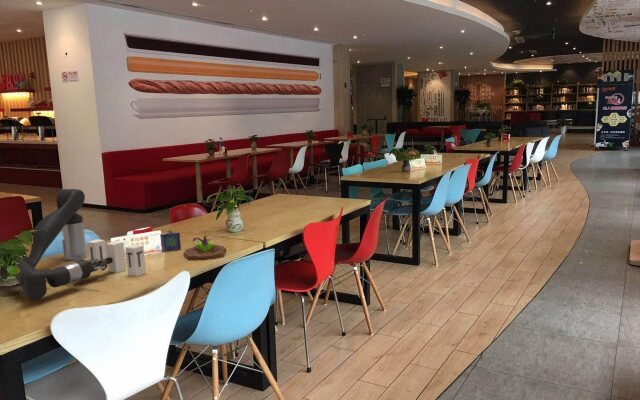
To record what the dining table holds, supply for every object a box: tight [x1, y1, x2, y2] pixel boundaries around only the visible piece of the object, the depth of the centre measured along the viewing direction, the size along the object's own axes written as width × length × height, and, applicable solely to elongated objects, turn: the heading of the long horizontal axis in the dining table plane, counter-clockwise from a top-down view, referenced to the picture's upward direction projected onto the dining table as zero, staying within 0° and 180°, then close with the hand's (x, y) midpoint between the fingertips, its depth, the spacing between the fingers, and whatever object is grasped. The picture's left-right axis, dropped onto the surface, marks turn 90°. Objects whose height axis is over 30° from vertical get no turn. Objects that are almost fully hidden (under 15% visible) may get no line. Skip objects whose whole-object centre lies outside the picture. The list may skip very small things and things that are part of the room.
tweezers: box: [194, 237, 214, 245], centre depth 276 cm, size 17×5×2 cm, turn 157°
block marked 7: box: [124, 244, 147, 277], centre depth 215 cm, size 5×5×12 cm
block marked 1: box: [86, 238, 107, 260], centre depth 227 cm, size 5×5×12 cm
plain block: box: [105, 240, 127, 274], centre depth 221 cm, size 5×5×12 cm
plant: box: [183, 232, 227, 261], centre depth 247 cm, size 20×20×11 cm
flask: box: [159, 228, 182, 253], centre depth 257 cm, size 9×3×11 cm, turn 109°
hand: (111, 259), depth 219 cm, fingers closed
